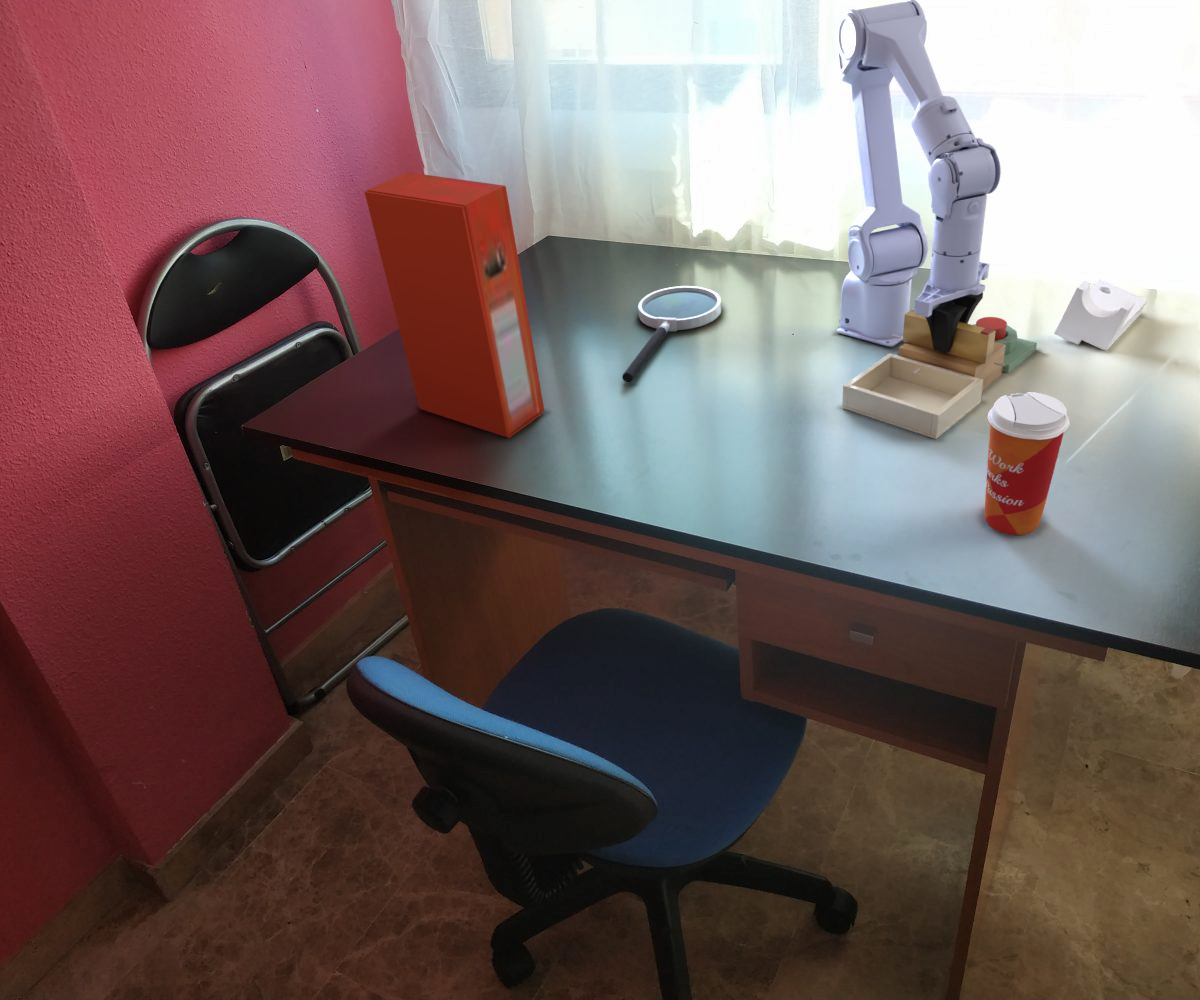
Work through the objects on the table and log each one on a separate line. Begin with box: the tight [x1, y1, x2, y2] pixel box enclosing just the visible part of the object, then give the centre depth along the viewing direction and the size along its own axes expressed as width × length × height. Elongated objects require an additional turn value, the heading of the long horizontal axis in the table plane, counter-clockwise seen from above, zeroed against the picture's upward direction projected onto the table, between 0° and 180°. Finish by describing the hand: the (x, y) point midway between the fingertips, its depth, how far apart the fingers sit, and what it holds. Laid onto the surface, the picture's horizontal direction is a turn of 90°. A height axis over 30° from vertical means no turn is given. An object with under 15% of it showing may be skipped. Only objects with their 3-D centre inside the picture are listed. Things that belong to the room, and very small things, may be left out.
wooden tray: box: [841, 352, 983, 440], centre depth 128 cm, size 14×11×3 cm
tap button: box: [975, 316, 1008, 341], centre depth 136 cm, size 4×4×2 cm
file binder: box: [363, 171, 545, 439], centre depth 131 cm, size 8×17×32 cm, turn 52°
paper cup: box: [984, 391, 1070, 536], centre depth 103 cm, size 8×8×14 cm
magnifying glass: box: [622, 285, 722, 384], centre depth 153 cm, size 13×31×2 cm, turn 158°
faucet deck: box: [891, 334, 1006, 391], centre depth 132 cm, size 16×16×5 cm
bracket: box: [1053, 278, 1149, 351], centre depth 138 cm, size 13×7×8 cm, turn 138°
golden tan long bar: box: [902, 309, 996, 364], centre depth 129 cm, size 12×2×4 cm, turn 44°
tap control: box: [972, 323, 1038, 374], centre depth 137 cm, size 10×8×3 cm
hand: (946, 346), depth 130 cm, fingers closed on golden tan long bar, 2 cm apart
